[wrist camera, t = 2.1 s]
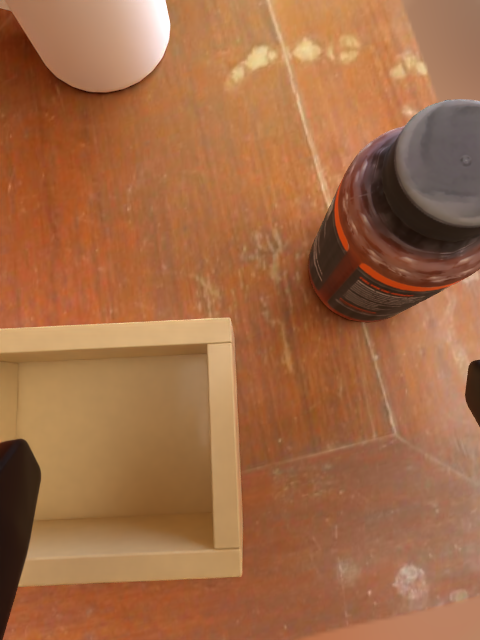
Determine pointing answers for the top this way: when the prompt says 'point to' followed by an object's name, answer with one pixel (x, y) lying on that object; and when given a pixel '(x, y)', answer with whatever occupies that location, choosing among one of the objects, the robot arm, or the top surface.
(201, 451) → the shallow tan tray box
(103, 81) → the mug
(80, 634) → the top surface
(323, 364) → the top surface
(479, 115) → the supplement bottle
